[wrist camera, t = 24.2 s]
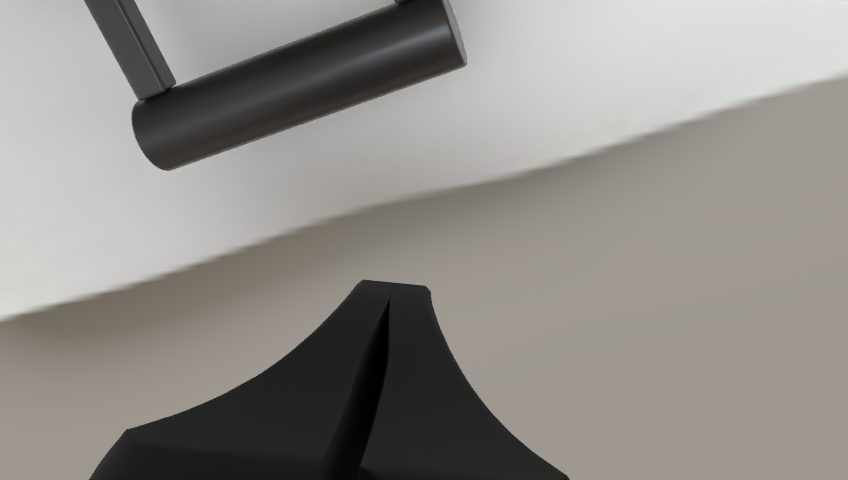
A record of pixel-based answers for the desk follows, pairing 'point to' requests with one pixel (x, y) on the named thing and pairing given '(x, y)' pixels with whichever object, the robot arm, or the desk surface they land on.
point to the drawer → (275, 77)
